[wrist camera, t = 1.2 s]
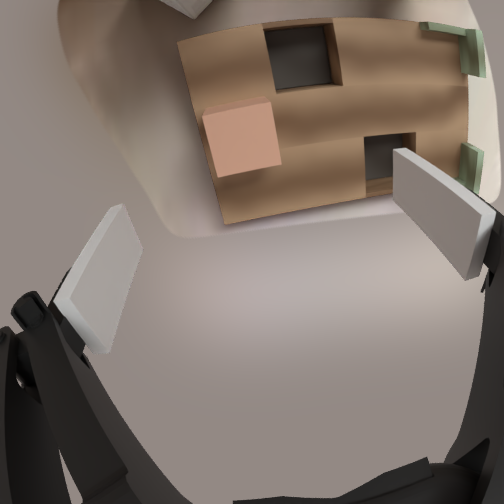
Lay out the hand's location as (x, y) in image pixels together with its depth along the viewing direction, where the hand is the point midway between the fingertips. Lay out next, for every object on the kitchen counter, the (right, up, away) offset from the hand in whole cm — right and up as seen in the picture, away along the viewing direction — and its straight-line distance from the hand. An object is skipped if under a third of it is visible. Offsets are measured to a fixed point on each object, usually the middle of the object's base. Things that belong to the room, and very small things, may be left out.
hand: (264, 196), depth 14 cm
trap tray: (+9, +12, +13) cm, 19 cm away
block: (-1, +8, +11) cm, 14 cm away
